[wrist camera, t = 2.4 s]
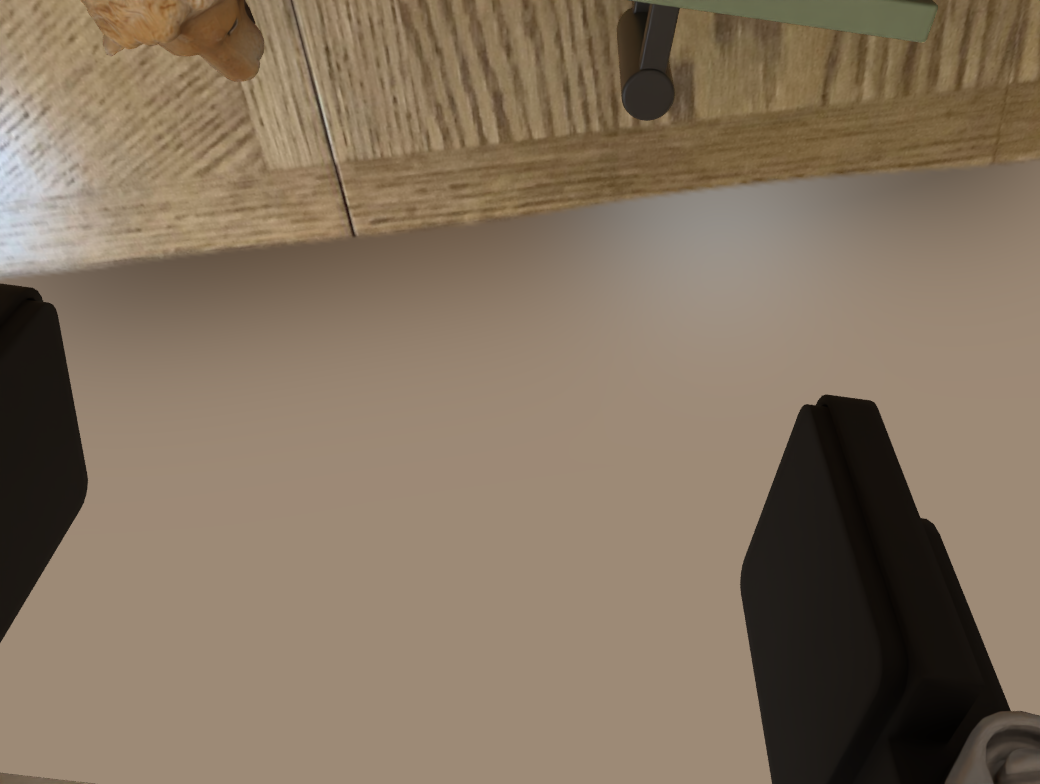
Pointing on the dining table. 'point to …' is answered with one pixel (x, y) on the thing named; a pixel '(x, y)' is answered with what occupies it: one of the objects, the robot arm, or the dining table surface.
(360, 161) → the dining table surface
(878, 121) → the dining table surface
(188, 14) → the lion figurine
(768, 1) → the door
